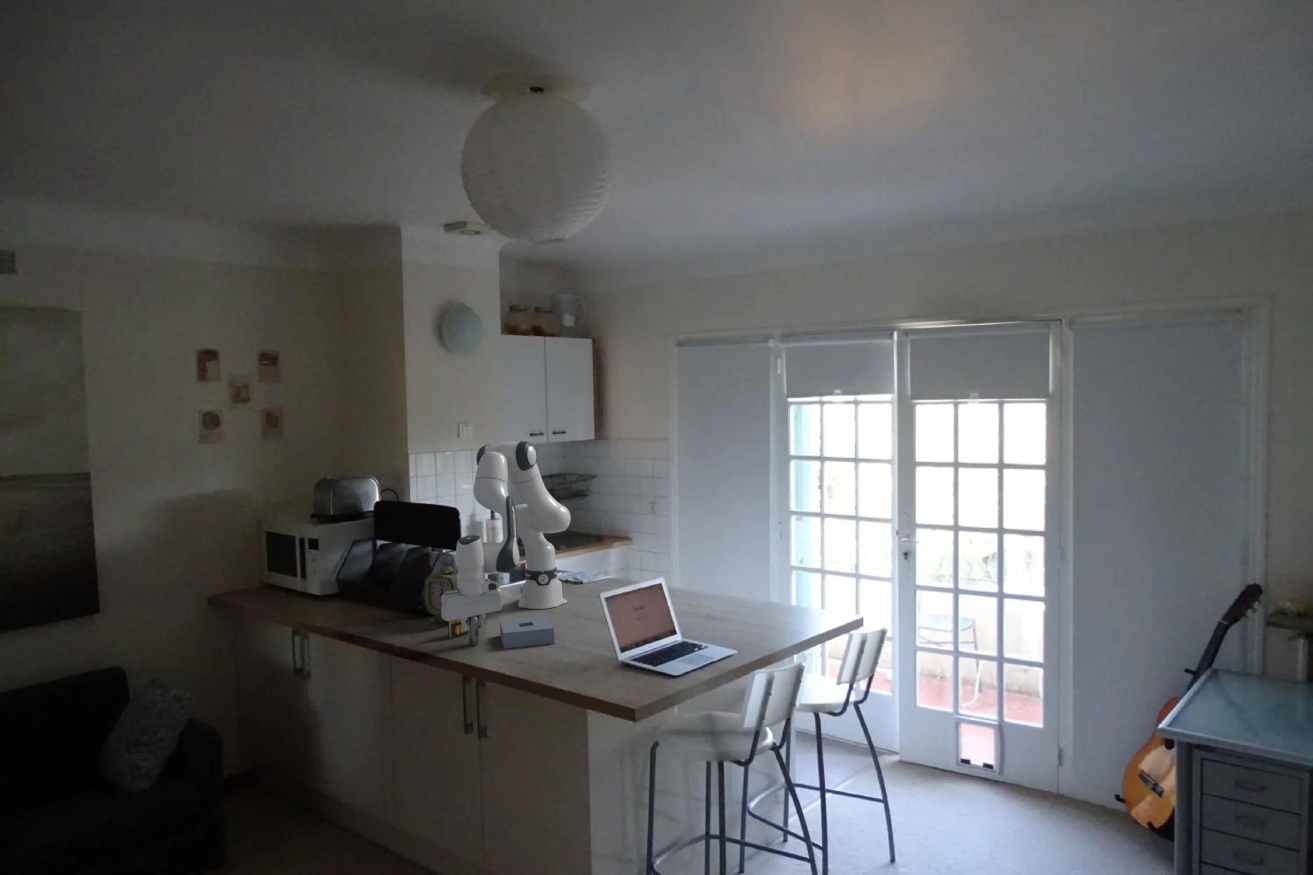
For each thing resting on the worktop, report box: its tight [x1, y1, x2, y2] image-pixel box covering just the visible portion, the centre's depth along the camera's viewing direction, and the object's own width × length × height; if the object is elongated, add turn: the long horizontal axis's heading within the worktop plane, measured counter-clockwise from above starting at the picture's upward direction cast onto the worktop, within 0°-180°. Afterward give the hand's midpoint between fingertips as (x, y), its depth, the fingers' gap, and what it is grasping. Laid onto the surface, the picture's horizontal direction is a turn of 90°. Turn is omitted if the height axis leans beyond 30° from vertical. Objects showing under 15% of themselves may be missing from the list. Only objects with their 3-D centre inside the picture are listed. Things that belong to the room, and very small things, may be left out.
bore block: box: [499, 615, 555, 650], centre depth 279 cm, size 16×16×5 cm
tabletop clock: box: [423, 552, 458, 624], centre depth 304 cm, size 14×9×25 cm, turn 62°
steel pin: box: [467, 615, 480, 647], centre depth 274 cm, size 3×3×10 cm
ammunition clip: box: [447, 617, 468, 640], centre depth 287 cm, size 11×2×12 cm, turn 142°
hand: (473, 629), depth 274 cm, fingers closed on steel pin, 3 cm apart
